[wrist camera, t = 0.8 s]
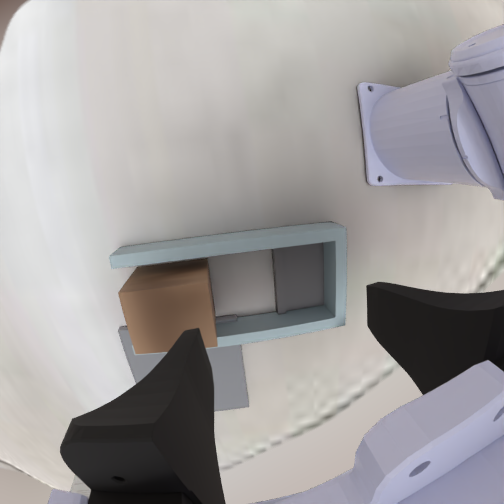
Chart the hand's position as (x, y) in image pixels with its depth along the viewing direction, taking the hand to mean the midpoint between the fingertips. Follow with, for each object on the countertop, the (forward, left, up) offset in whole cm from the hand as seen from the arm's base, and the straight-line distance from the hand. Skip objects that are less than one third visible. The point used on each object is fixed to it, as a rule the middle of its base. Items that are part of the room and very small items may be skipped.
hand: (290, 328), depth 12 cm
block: (+6, +1, -10) cm, 11 cm away
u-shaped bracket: (+2, +1, -9) cm, 10 cm away
